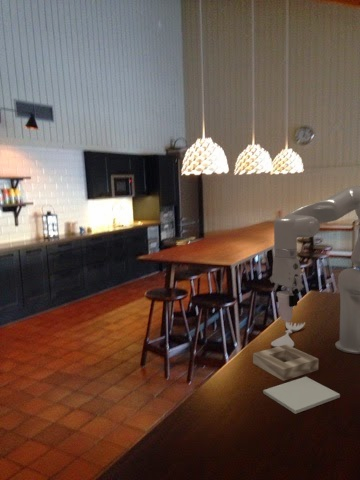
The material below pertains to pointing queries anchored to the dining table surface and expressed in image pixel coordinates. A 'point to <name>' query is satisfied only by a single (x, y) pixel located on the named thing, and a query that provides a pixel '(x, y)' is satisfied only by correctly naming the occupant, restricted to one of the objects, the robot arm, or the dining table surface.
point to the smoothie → (284, 305)
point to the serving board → (301, 394)
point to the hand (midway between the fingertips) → (286, 303)
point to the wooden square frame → (294, 367)
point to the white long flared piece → (287, 335)
